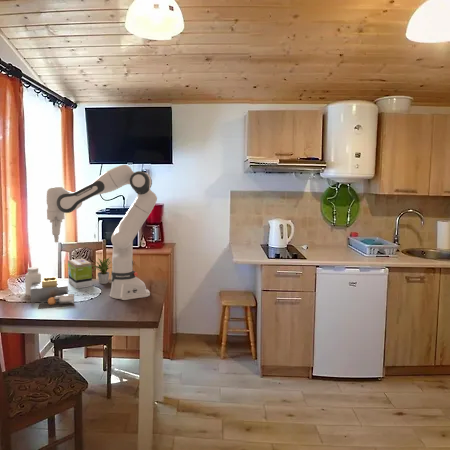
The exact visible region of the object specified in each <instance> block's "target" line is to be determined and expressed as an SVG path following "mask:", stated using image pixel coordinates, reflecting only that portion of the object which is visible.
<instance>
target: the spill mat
mask: <svg viewBox="0 0 450 450" xmlns="http://www.w3.org/2000/svg"><path fill="white" fill-rule="evenodd" d="M65 307H66V308H69V307H75V303H74V304H64V305H59V301H56V303H55V304H54V305H49V304H48V302H38V307H37V309H38V310H43V309H45V310H46V309H54V308H65Z"/></svg>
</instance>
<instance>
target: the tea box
mask: <svg viewBox="0 0 450 450" xmlns="http://www.w3.org/2000/svg"><path fill="white" fill-rule="evenodd" d="M92 265H93V264H92V262H90V261H89V260H87V259H85V258H77V259H69V260H67V271H68V272H67V274H68V275H67V276H68V283H69V284H70V285H71V286H73V287H74V288H75V289H76V290H77V289H82V288H88V287H92V286H93V266H92Z"/></svg>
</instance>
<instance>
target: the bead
mask: <svg viewBox="0 0 450 450" xmlns="http://www.w3.org/2000/svg"><path fill="white" fill-rule="evenodd" d="M56 302H57V301H56V300H55V298H53V297H51V298H49V299H48V302H47V303H48V304H49V305H54V304H55V303H56Z"/></svg>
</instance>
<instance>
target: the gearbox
mask: <svg viewBox="0 0 450 450" xmlns="http://www.w3.org/2000/svg"><path fill="white" fill-rule="evenodd" d="M68 283H69V279H68V280H58V277H57V276H50V277H42V278H41V282H36V283H32V286H31V289H30V290H31V296H30V303H31V304H34V303H48V299H49V298H51V297H53V298H55V296H59V295H68V294H69V284H68ZM56 302H59V300H56Z"/></svg>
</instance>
